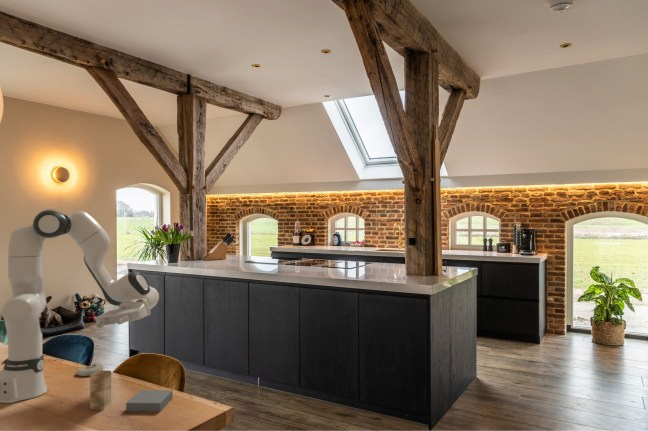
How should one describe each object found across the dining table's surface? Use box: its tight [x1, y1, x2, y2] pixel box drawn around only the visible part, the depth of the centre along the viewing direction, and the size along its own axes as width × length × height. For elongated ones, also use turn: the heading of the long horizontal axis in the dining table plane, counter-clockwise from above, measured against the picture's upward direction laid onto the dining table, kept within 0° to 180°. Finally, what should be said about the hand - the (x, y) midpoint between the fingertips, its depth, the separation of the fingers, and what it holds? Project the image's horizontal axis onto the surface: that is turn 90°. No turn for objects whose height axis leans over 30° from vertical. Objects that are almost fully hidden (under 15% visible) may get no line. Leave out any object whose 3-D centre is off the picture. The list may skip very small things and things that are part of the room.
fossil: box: [76, 362, 104, 377], centre depth 203 cm, size 11×4×10 cm
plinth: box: [125, 389, 174, 413], centre depth 168 cm, size 12×12×3 cm
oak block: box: [89, 370, 112, 410], centre depth 167 cm, size 5×5×12 cm
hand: (108, 324), depth 176 cm, fingers open, 8 cm apart
